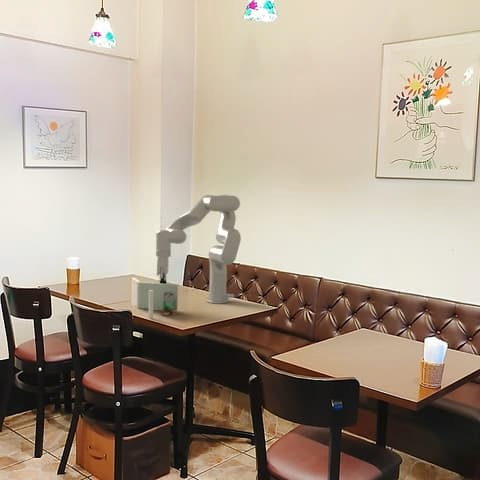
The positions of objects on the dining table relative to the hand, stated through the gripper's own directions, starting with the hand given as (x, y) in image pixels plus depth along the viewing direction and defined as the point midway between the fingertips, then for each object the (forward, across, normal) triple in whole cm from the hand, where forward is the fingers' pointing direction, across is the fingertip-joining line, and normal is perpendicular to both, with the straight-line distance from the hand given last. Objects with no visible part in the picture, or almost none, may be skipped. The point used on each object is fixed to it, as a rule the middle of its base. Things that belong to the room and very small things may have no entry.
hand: (163, 287), depth 312 cm
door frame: (+11, +7, -10) cm, 16 cm away
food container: (+11, +12, +5) cm, 17 cm away
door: (+10, +4, -1) cm, 11 cm away
